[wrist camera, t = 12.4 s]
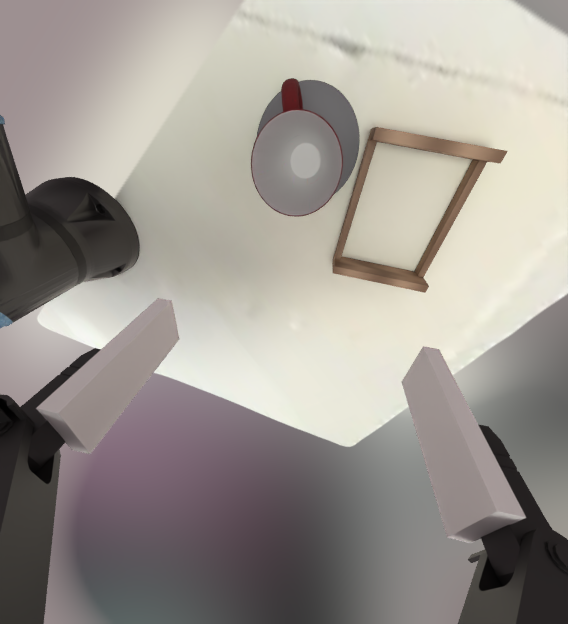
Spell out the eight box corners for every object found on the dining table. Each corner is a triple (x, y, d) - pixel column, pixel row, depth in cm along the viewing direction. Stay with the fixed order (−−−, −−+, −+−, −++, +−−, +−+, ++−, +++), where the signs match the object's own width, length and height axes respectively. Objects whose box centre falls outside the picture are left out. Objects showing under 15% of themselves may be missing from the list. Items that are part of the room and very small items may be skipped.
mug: (255, 109, 27) (222, 95, 19) (326, 74, 25) (323, 42, 17) (284, 206, 32) (269, 227, 24) (346, 185, 30) (351, 201, 22)
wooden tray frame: (332, 261, 36) (332, 273, 33) (371, 128, 27) (376, 127, 24) (416, 278, 36) (425, 292, 33) (486, 150, 26) (507, 151, 23)
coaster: (253, 194, 33) (252, 195, 32) (262, 71, 26) (261, 70, 25) (341, 211, 32) (341, 212, 32) (374, 91, 25) (375, 91, 25)
